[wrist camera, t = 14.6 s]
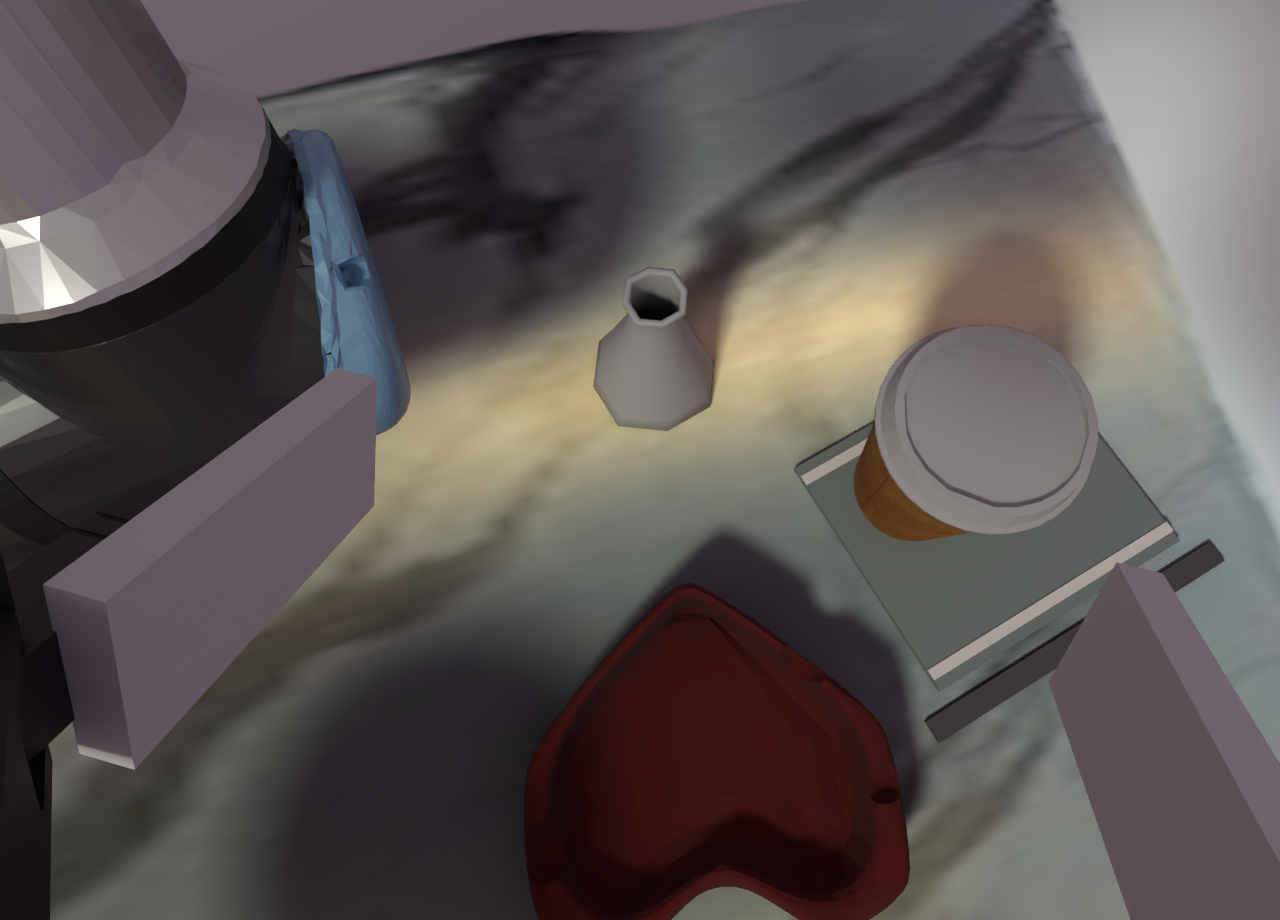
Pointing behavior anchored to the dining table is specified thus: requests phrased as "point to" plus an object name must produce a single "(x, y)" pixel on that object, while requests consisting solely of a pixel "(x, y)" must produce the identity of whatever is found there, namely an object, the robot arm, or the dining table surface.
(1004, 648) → the mat
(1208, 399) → the dining table surface
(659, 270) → the flask
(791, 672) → the ashtray
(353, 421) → the robot arm
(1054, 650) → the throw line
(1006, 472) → the disposable coffee cup
